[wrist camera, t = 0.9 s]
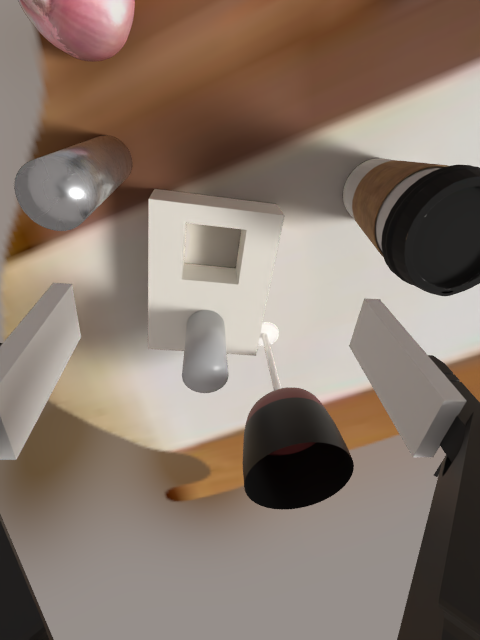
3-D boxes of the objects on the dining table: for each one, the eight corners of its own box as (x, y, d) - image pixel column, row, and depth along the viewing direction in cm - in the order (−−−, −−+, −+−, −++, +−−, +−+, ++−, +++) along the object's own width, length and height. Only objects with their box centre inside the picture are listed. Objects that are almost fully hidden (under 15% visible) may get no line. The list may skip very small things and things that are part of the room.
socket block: (154, 188, 34) (131, 227, 23) (277, 204, 35) (305, 247, 25) (152, 328, 42) (135, 402, 32) (251, 335, 44) (265, 407, 33)
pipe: (84, 132, 31) (7, 153, 19) (132, 138, 31) (86, 163, 19) (88, 180, 33) (21, 226, 21) (132, 185, 33) (91, 234, 22)
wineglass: (216, 333, 44) (221, 482, 27) (271, 290, 41) (316, 425, 24) (257, 369, 47) (284, 520, 30) (310, 331, 44) (373, 474, 28)
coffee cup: (325, 233, 37) (386, 303, 25) (335, 145, 33) (415, 174, 20) (403, 229, 38) (502, 295, 25) (422, 141, 33) (555, 168, 21)
